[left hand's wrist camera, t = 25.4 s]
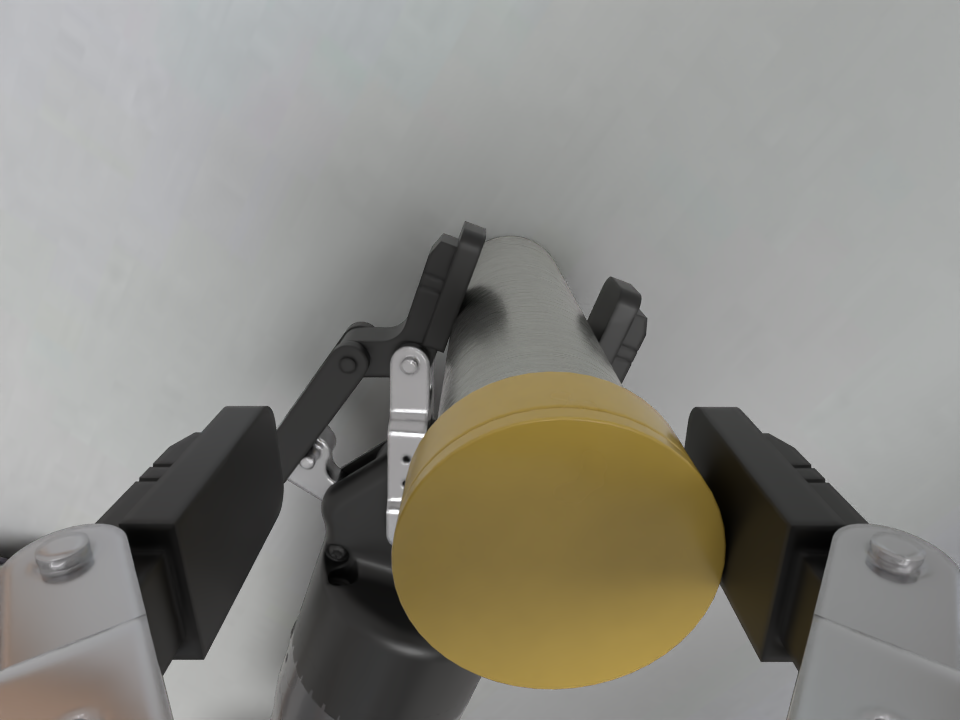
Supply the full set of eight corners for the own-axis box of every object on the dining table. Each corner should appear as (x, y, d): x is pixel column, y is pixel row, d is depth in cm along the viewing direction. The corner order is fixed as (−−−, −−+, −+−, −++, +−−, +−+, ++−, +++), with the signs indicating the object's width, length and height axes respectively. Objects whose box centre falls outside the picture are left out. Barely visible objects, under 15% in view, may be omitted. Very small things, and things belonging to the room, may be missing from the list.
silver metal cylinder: (566, 239, 25) (705, 423, 9) (554, 338, 26) (657, 636, 11) (461, 231, 25) (427, 405, 9) (455, 332, 26) (418, 623, 11)
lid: (742, 429, 10) (792, 485, 9) (612, 641, 12) (633, 722, 10) (463, 325, 10) (459, 366, 8) (369, 565, 11) (349, 640, 10)
